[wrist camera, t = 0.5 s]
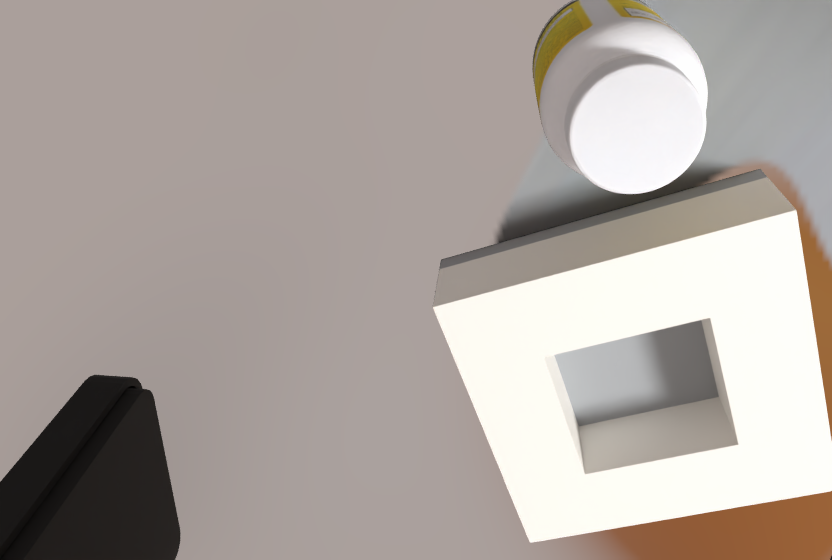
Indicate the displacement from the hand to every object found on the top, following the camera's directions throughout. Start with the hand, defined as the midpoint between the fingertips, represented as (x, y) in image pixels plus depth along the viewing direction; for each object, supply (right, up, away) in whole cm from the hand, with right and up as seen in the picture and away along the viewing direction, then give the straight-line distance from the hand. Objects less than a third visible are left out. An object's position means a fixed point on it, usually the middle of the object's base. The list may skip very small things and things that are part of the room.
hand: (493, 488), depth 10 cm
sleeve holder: (+10, -1, +27) cm, 28 cm away
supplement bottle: (+7, +12, +20) cm, 25 cm away
